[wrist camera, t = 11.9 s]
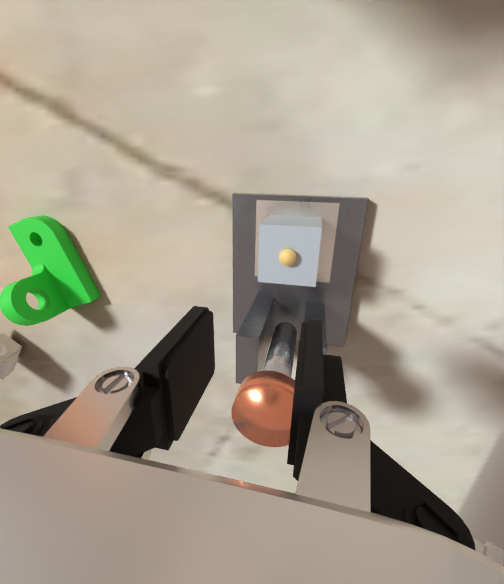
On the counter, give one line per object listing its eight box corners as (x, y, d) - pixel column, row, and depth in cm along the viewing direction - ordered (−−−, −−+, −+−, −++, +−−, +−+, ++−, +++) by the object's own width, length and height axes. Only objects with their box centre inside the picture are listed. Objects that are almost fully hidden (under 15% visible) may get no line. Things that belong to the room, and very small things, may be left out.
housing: (270, 215, 29) (258, 225, 23) (321, 217, 28) (322, 228, 22) (268, 263, 31) (256, 283, 25) (316, 266, 30) (315, 289, 24)
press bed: (235, 193, 30) (200, 200, 21) (366, 197, 28) (389, 208, 19) (235, 327, 36) (208, 378, 27) (343, 341, 34) (352, 401, 25)
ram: (263, 308, 30) (231, 383, 19) (311, 313, 29) (307, 396, 18) (261, 349, 32) (231, 439, 21) (307, 355, 31) (301, 453, 20)
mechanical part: (102, 295, 39) (52, 323, 32) (70, 305, 41) (16, 333, 34) (55, 209, 36) (-12, 217, 28) (22, 224, 38) (-48, 235, 30)
